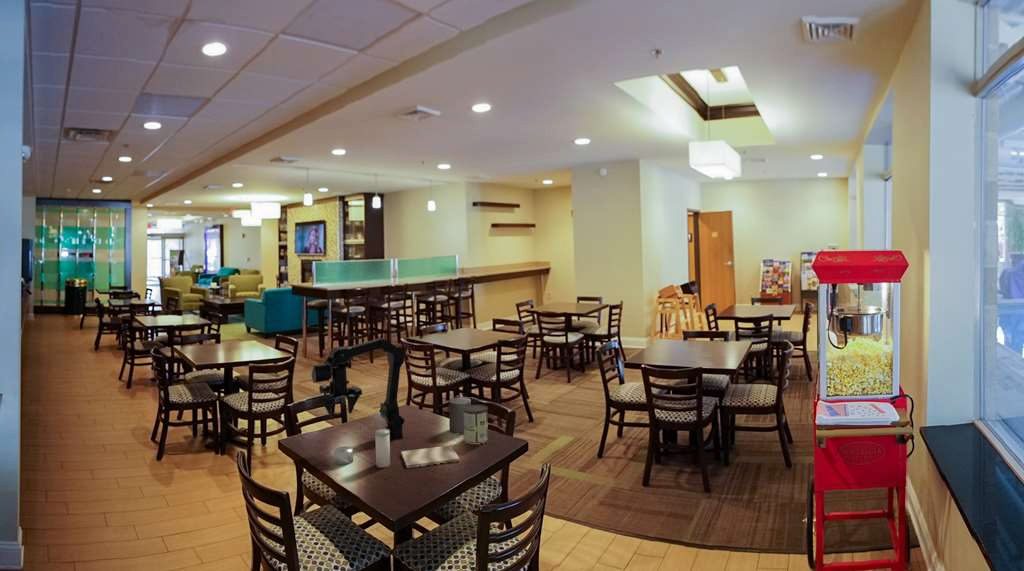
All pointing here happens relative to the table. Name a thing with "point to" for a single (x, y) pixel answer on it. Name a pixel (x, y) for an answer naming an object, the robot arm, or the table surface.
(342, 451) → the grey tin
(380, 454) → the white cylinder
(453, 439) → the table surface
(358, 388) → the robot arm
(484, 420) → the coffee can
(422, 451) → the birch board
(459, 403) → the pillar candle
